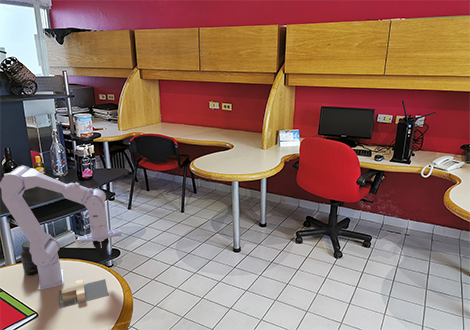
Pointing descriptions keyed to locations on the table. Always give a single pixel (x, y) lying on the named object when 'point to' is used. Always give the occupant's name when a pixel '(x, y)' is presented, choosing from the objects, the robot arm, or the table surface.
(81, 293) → the t block
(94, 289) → the mat
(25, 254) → the supplement bottle
